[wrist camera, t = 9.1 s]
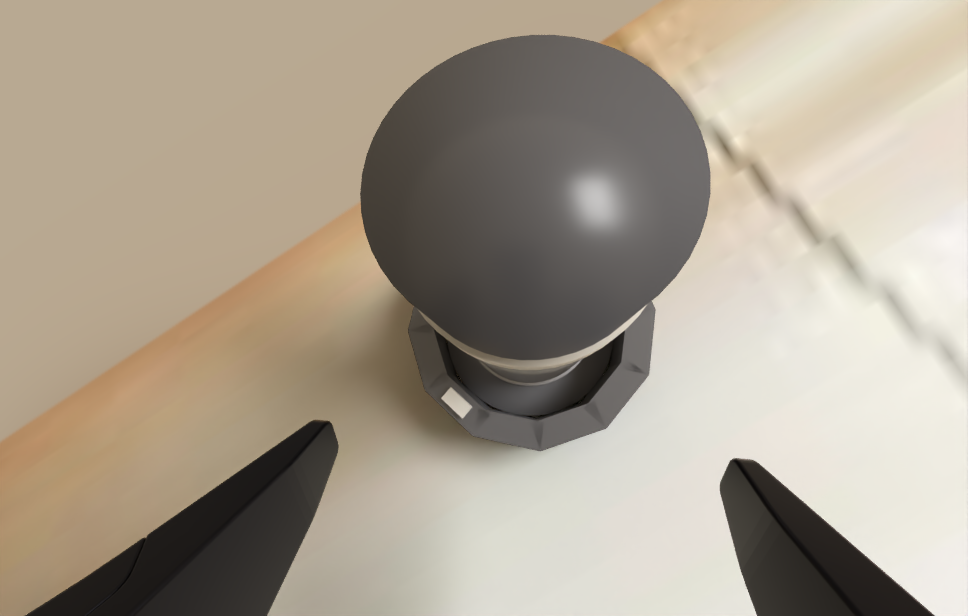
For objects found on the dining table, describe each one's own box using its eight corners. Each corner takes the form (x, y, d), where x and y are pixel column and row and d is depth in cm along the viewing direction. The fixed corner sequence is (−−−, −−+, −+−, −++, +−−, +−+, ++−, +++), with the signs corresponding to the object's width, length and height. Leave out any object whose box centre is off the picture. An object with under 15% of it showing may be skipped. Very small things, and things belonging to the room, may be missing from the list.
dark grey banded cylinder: (576, 398, 17) (704, 387, 5) (463, 375, 18) (311, 314, 6) (592, 286, 18) (728, 38, 6) (485, 270, 19) (401, 22, 7)
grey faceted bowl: (543, 490, 17) (545, 506, 14) (386, 342, 19) (363, 333, 17) (680, 318, 18) (706, 303, 15) (515, 199, 20) (513, 170, 18)
